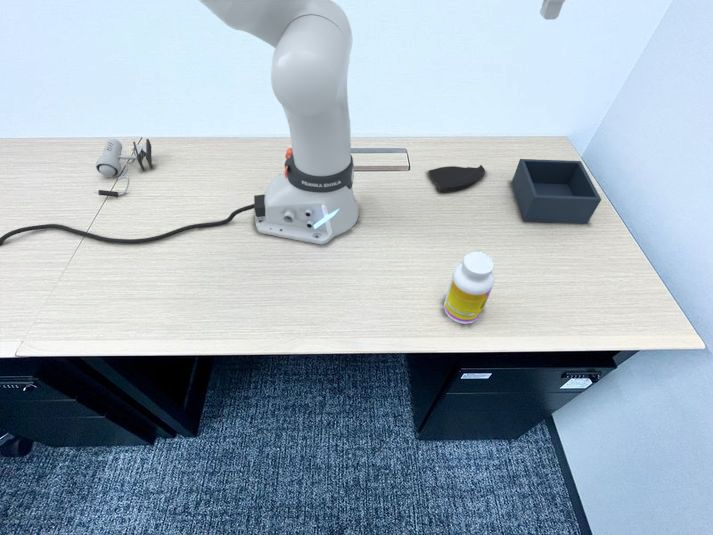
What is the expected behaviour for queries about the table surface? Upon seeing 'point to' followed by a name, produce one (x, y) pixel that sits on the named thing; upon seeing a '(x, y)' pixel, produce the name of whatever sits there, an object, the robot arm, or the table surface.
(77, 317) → the table surface
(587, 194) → the tub
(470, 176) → the curved wedge
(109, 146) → the clip-on lamp
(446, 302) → the supplement bottle
